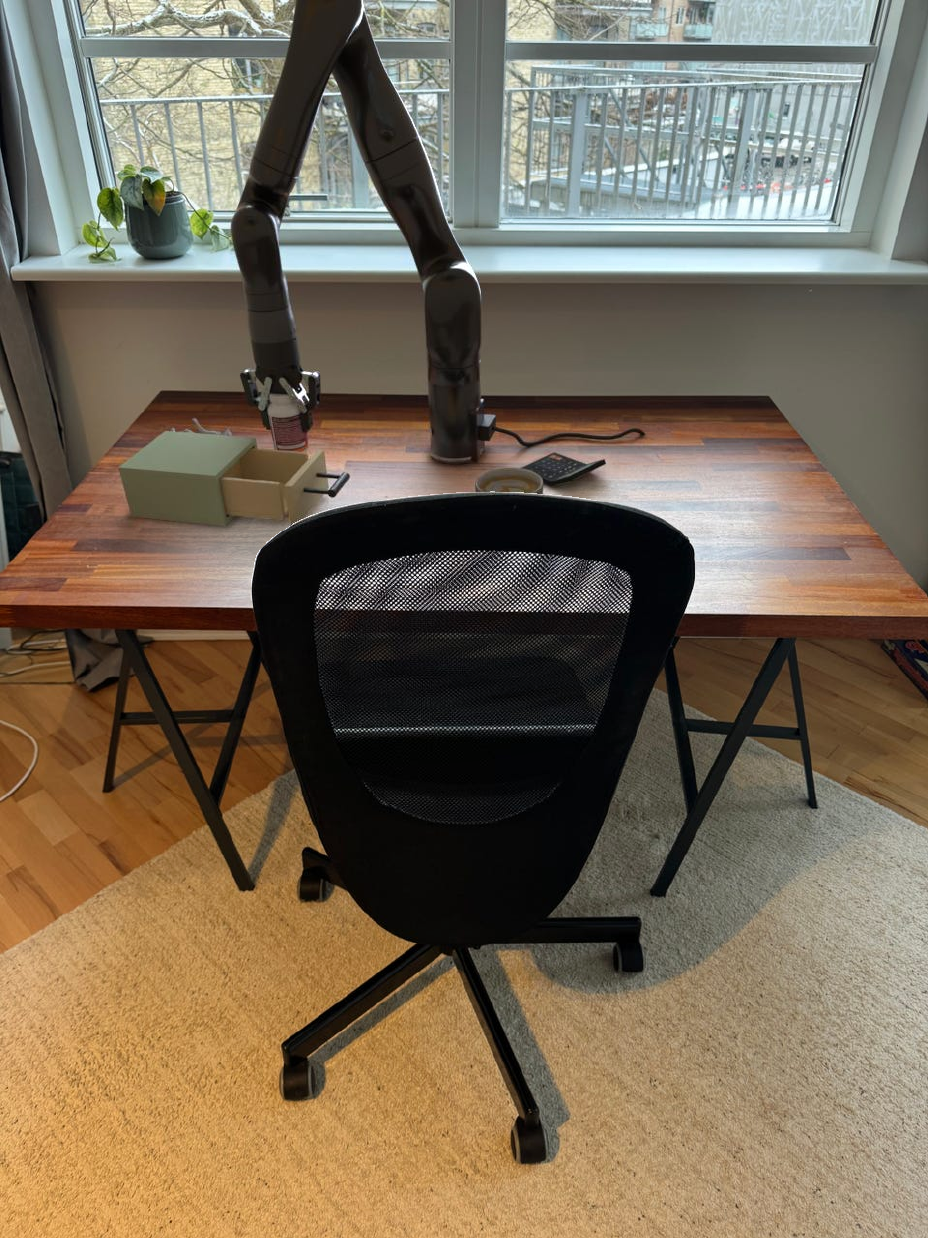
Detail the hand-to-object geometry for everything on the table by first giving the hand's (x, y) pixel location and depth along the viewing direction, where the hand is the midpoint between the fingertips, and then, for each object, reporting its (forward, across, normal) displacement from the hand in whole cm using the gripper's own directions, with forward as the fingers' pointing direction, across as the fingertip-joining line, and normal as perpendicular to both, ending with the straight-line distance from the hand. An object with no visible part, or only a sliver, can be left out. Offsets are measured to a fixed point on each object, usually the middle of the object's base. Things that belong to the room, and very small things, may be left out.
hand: (288, 429), depth 155 cm
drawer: (+6, +5, -16) cm, 18 cm away
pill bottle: (+4, 0, 0) cm, 4 cm away
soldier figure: (+7, -20, +5) cm, 22 cm away
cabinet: (+7, -10, -16) cm, 20 cm away
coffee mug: (+8, +42, -18) cm, 47 cm away
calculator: (+8, +48, +5) cm, 48 cm away
